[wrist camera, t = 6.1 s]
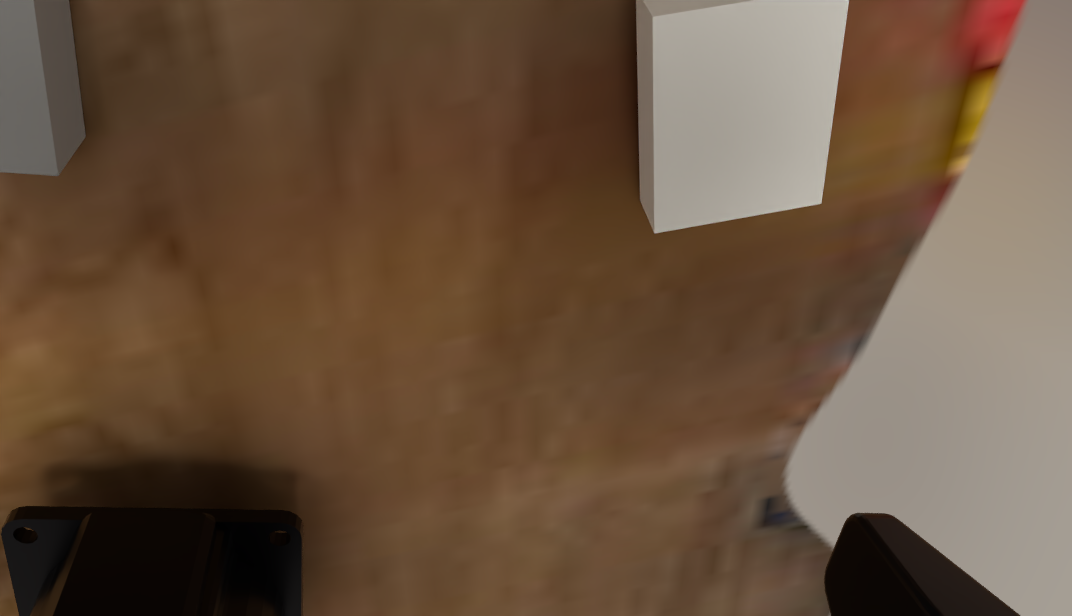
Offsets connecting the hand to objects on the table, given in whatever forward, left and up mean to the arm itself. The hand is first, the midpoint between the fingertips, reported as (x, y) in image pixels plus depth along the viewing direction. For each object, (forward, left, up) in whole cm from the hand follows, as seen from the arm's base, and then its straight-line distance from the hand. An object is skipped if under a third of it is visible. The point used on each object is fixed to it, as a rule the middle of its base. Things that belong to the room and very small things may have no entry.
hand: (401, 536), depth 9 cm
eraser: (+2, -4, -12) cm, 13 cm away
